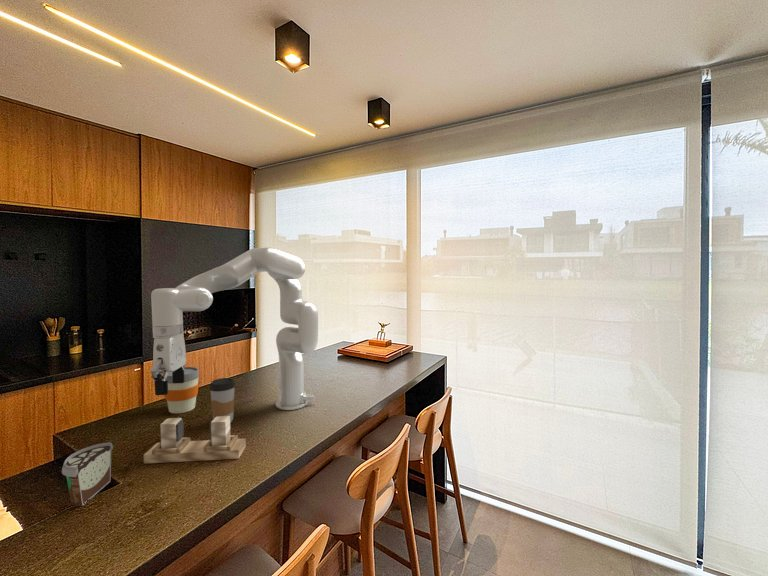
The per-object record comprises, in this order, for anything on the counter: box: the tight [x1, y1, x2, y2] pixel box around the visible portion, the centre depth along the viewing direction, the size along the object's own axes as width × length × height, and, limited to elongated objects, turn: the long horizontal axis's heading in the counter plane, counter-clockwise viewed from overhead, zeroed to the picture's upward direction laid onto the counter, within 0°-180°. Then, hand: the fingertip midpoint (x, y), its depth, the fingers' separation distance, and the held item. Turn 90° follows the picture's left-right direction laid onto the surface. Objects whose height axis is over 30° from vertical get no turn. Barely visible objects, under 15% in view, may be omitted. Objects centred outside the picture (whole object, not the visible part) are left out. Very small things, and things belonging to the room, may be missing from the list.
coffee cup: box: [209, 377, 236, 424], centre depth 125 cm, size 8×8×15 cm
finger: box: [160, 417, 185, 449], centre depth 102 cm, size 5×4×8 cm
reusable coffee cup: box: [162, 366, 200, 414], centre depth 137 cm, size 13×13×15 cm
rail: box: [143, 416, 247, 465], centre depth 103 cm, size 26×7×10 cm, turn 96°
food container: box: [61, 441, 114, 507], centre depth 85 cm, size 12×6×10 cm, turn 5°
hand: (170, 388), depth 102 cm, fingers open, 9 cm apart
